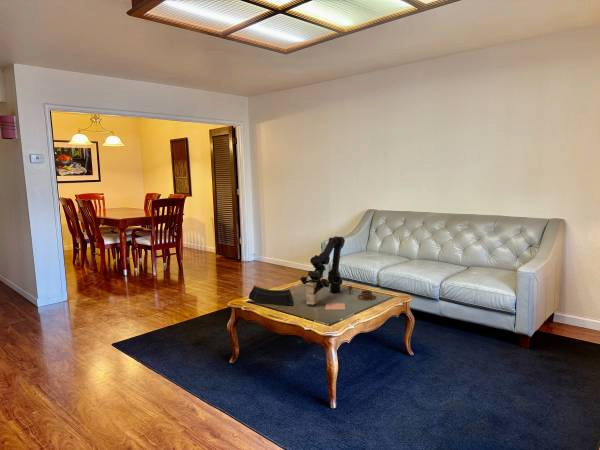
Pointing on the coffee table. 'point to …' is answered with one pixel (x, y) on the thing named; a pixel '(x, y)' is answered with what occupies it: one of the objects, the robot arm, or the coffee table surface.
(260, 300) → the black flat curved piece
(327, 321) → the coffee table surface
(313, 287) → the birch block
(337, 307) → the terracotta mat
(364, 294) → the place setting
